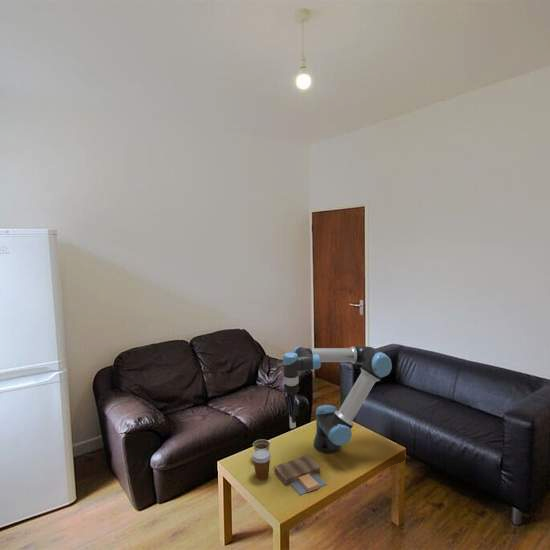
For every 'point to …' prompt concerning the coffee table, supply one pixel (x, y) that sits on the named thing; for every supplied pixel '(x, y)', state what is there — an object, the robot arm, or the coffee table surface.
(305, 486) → the orange brown flat block
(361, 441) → the coffee table surface
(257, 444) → the clear plastic cup
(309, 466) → the brown flat slab
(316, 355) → the robot arm
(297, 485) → the mat
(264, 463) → the disposable coffee cup
